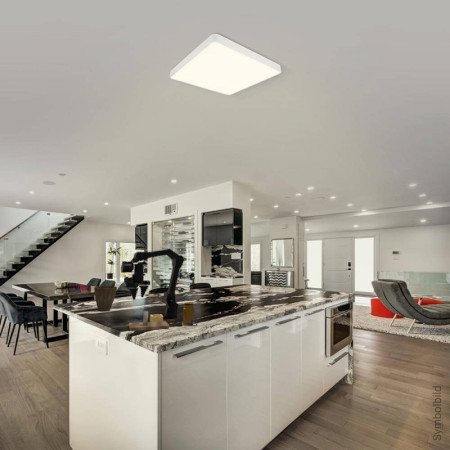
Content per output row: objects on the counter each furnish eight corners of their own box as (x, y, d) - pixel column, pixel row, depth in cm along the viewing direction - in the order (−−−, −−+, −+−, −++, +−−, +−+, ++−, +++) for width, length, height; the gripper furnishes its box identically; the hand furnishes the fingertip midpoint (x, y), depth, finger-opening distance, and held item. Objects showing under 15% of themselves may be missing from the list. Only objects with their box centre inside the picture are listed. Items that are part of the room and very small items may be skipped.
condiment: (182, 323, 173) (183, 302, 175) (196, 323, 174) (197, 302, 176) (181, 326, 166) (182, 304, 168) (196, 326, 167) (197, 304, 168)
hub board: (165, 323, 170) (165, 308, 171) (169, 328, 159) (169, 312, 160) (128, 325, 163) (129, 309, 164) (130, 330, 152) (131, 313, 153)
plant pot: (93, 308, 210) (95, 285, 212) (116, 308, 215) (117, 285, 217) (91, 312, 196) (92, 288, 198) (115, 312, 201) (116, 288, 202)
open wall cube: (161, 320, 180) (161, 314, 180) (162, 322, 173) (163, 316, 174) (149, 320, 177) (150, 314, 178) (151, 323, 171) (151, 316, 171)
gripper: (135, 271, 191) (134, 295, 190) (118, 273, 173) (117, 300, 172) (151, 271, 188) (150, 296, 187) (135, 273, 171) (134, 301, 169)
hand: (138, 298), depth 179 cm, fingers open, 9 cm apart
